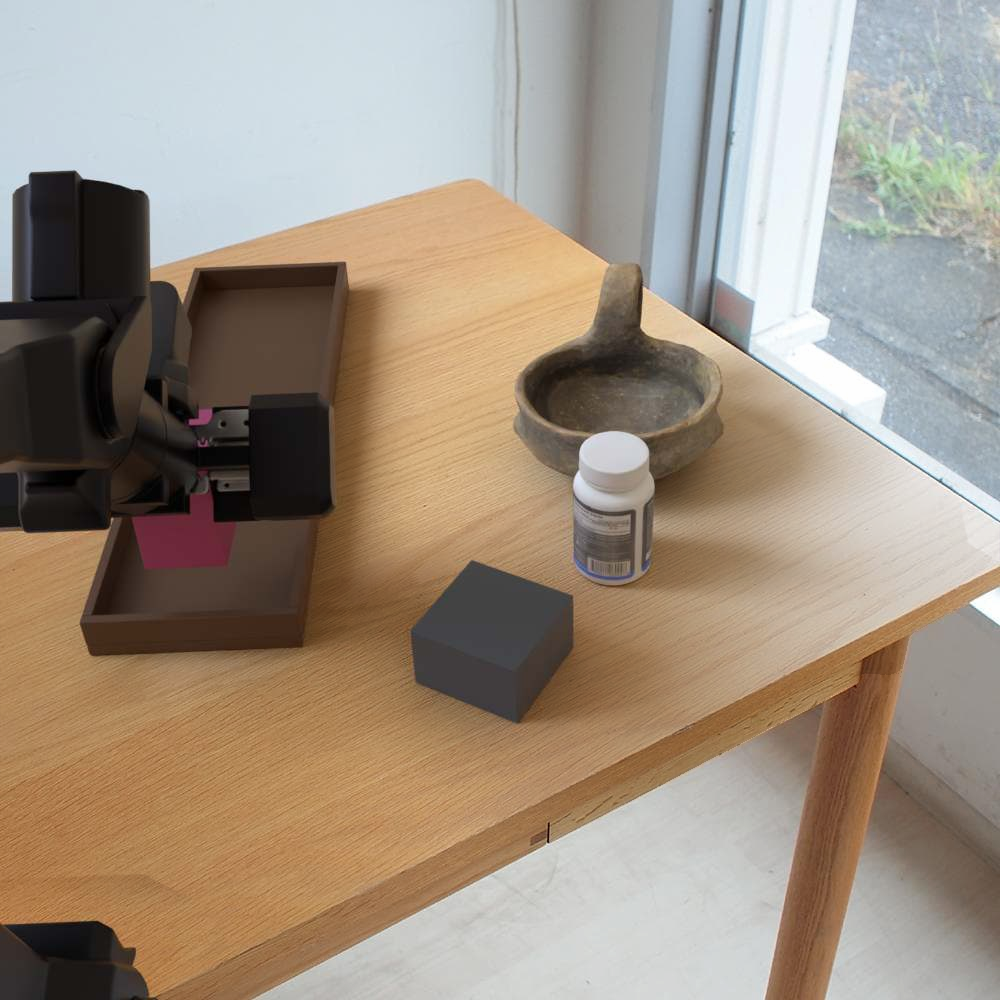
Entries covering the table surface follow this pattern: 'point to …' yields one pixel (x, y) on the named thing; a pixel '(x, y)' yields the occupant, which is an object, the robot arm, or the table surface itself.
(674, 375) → the bowl
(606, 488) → the pill bottle
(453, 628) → the slate block
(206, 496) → the mulberry block
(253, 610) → the tray
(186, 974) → the table surface
